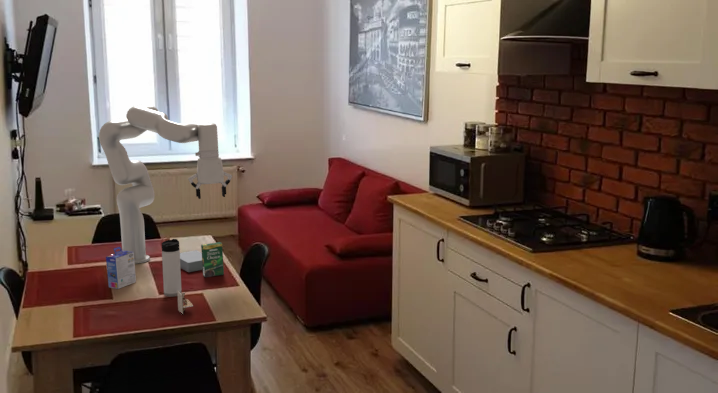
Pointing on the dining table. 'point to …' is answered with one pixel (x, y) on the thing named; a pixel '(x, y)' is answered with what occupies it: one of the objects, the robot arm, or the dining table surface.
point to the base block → (191, 261)
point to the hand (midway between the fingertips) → (211, 197)
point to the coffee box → (212, 259)
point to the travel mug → (171, 267)
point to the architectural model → (180, 302)
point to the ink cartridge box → (120, 268)
